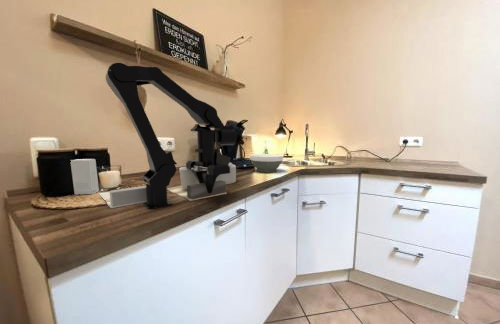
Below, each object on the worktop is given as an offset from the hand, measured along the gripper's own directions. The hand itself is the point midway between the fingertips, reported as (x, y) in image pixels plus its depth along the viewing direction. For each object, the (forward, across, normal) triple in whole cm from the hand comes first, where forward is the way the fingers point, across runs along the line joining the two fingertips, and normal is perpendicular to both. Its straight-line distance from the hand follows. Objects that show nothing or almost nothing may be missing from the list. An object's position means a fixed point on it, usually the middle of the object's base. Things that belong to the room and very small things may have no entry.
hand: (207, 192), depth 75 cm
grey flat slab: (+1, +16, +20) cm, 26 cm away
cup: (+1, +13, 0) cm, 13 cm away
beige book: (+1, +8, 0) cm, 9 cm away
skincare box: (+2, +32, +30) cm, 44 cm away
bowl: (+2, +26, -55) cm, 61 cm away
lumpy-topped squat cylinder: (+2, +17, -18) cm, 24 cm away
